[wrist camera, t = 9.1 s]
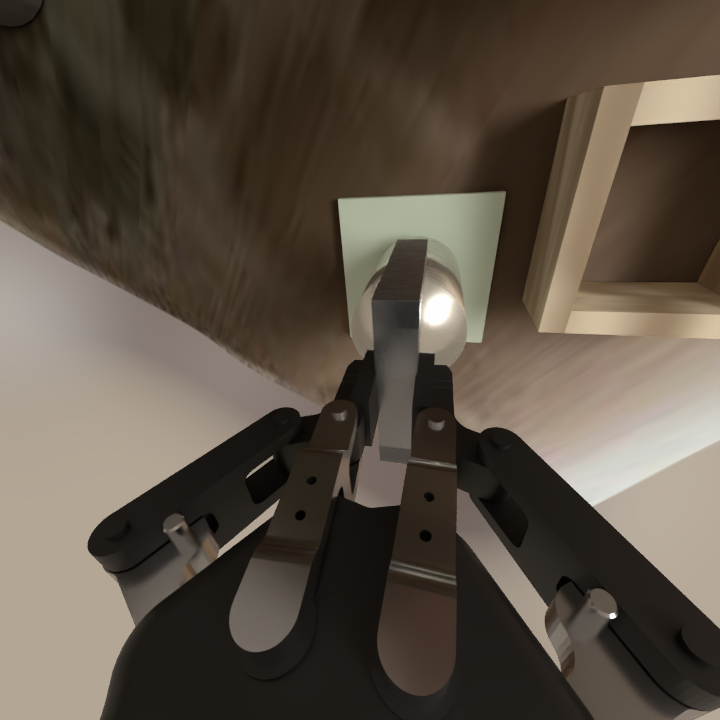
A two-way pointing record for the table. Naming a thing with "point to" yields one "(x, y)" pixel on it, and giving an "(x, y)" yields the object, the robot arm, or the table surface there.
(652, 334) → the holder
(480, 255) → the mat
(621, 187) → the table surface
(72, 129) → the table surface
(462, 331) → the pail
